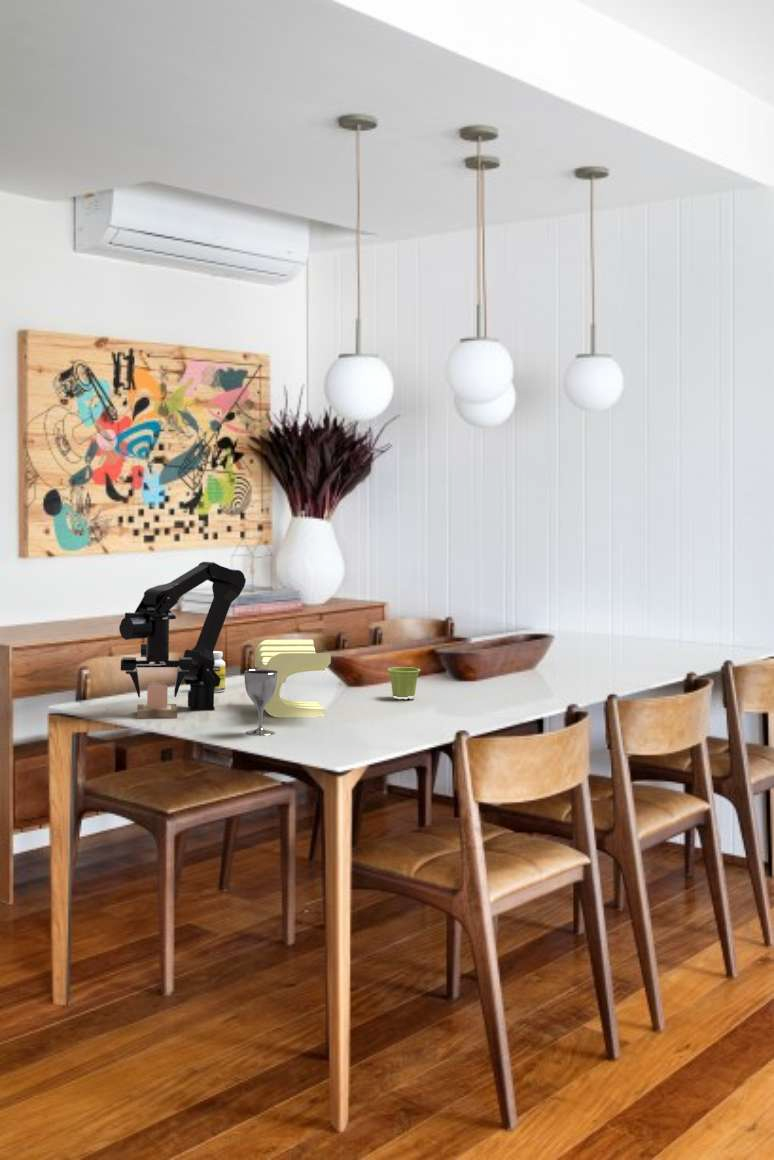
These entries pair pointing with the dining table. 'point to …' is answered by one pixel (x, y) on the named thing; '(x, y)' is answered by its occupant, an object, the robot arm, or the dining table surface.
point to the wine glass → (260, 693)
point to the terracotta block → (156, 695)
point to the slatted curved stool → (290, 672)
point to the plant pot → (403, 681)
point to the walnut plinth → (156, 711)
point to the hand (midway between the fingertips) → (157, 697)
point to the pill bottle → (219, 670)
